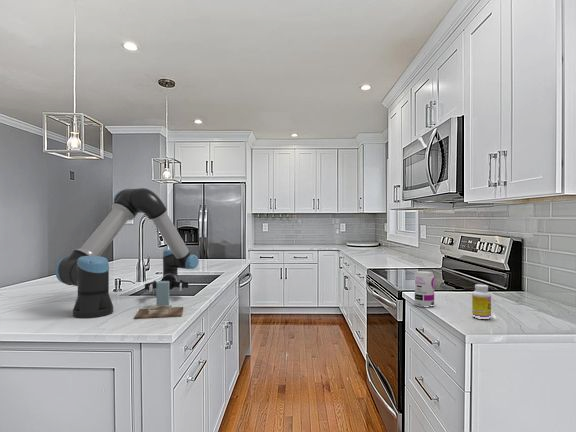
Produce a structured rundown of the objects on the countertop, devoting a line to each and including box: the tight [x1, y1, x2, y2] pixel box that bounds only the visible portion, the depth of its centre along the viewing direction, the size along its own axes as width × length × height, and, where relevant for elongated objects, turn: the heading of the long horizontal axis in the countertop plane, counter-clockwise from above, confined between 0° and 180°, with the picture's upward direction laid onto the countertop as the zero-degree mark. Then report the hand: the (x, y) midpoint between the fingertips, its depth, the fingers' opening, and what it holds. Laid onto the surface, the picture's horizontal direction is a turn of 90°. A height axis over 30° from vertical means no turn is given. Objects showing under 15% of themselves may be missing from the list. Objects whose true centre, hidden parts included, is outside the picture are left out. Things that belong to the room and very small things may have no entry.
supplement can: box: [414, 270, 435, 308], centre depth 180 cm, size 8×8×15 cm
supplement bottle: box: [471, 283, 492, 317], centre depth 158 cm, size 7×7×13 cm
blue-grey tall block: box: [156, 280, 170, 306], centre depth 180 cm, size 5×5×11 cm
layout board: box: [133, 304, 184, 320], centre depth 167 cm, size 18×14×2 cm
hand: (165, 288), depth 188 cm, fingers open, 13 cm apart
